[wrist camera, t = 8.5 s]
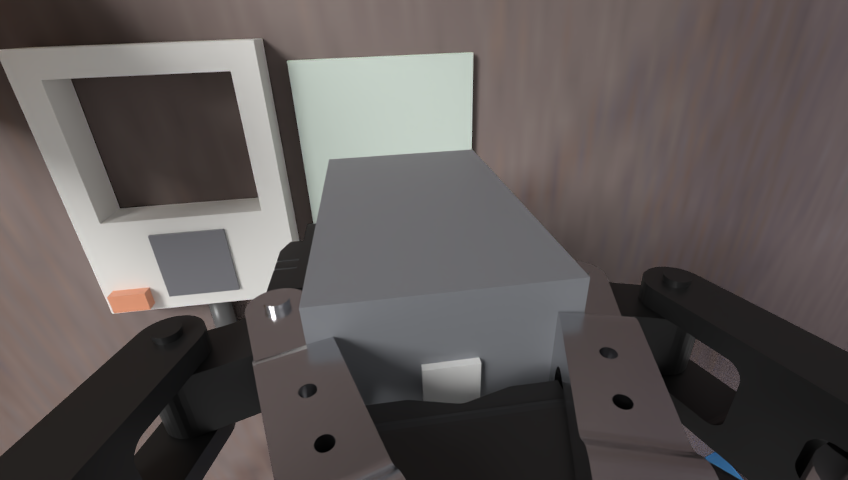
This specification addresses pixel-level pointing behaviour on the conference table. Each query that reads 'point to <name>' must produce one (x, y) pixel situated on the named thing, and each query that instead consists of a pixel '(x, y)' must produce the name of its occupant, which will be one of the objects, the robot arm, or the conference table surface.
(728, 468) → the perfume bottle
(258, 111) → the white open frame plaque
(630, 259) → the conference table surface
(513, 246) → the block
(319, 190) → the mat
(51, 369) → the conference table surface
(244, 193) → the conference table surface
